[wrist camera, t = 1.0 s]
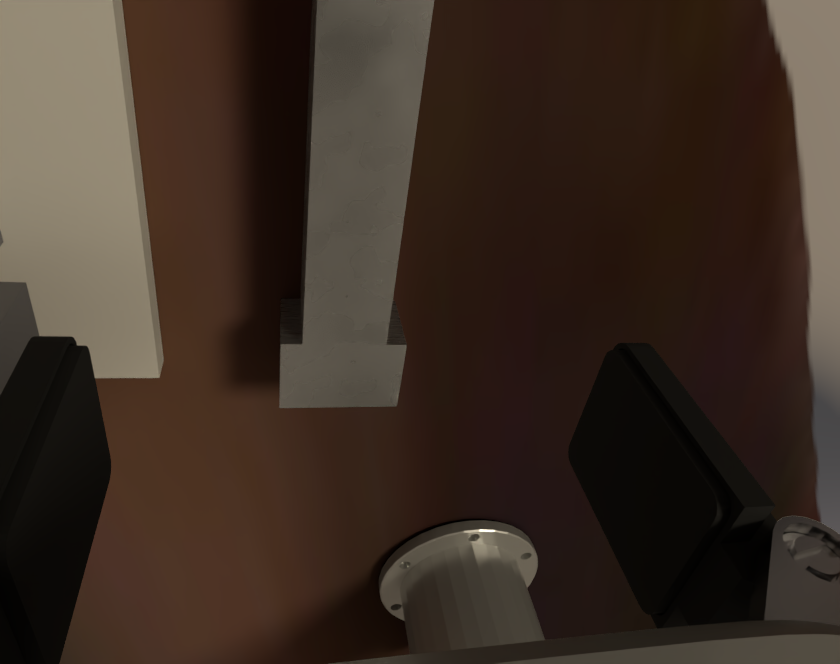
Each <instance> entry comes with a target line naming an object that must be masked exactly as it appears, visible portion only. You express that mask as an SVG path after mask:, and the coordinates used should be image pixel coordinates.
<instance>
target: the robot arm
mask: <svg viewBox="0 0 840 664" xmlns="http://www.w3.org/2000/svg"><path fill="white" fill-rule="evenodd" d="M568 453H569V460H570V463H571V465H572V468H573V470H574V472H575V474H576V476H577V478H578V480H579V482H580V484H581V486H582V488H583V490H584V492H585V494H586V496H587V498H588V500H589V502H590V505H591V507H592V509H593V511H594V513H595V515H596V517H597V519H598V521H599V523H600V525H601V527H602V529H603V531H604V533H605V535H606V537H607V539H608V541H609V544H610V546H611V548H612V550H613V552H614V554H615V556H616V558H617V560H618V562H619V564H620V566H621V568H622V570H623V572H624V574H625V576H626V578H627V580H628V583H629V585H630V587H631V589H632V591H633V593H634V595H635V597H636V599H637V601H638V603H639V605H640V607H641V608H642V610H643V611H644V612H645V613H646V614H650V615H651V617H652V619H653V621H654V623H655V625H656V627H657V629H650V630H640V631H630V632H620V633H611V634H601V635H591V636H581V637H571V638H561V639H552V640H545V639H544V636H543V633H542V630H541V627H540V624H539V621H538V618H537V615H536V612H535V610H534V607H533V604H532V601H531V598H530V595H529V592H528V589H527V587H528V586H529V585H530V584H531V582H532V580H533V578H534V576H535V575H536V571H537V567H538V557H537V554H536V552H535V549H534V546H533V544H532V542H531V540H530V539H529V537H528V536H527V535H526V534H524V533H523V532H522V531H521V530H519V529H517V528H515V527H513V526H511V525H508V524H504V523H501V522H496V521H487V520H471V521H462V522H456V523H451V524H447V525H443V526H440V527H436V528H434V529H431V530H429V531H426V532H424V533H422V534H420V535H418V536H416V537H414V538H413V539H411V540H409V541H408V542H406V543H405V544H404V545H402V546H401V547H400V548H398V549H397V550H396V551H395V552H394V553H393V554H392V555H391V556H390V557H389V558H388V560H387V561H386V563H385V565H384V566H383V568H382V570H381V573H380V576H379V591H380V597H381V601H382V603H383V605H384V607H385V608H386V609H387V610H388V611H389V612H390V613H391V614H392V615H394V616H396V617H397V618H399V619H401V620H404V621H405V626H406V632H407V638H408V644H409V650H410V655H402V656H393V657H384V658H374V659H366V660H357V661H348V662H339V663H330V664H840V535H839V534H838V533H837V532H836V531H834V530H833V529H831V528H829V527H827V526H826V525H824V524H822V523H820V522H817V521H815V520H812V519H809V518H806V517H799V516H788V517H783V518H782V519H780V520H779V521H776V520H775V518H774V517H773V516H772V514H771V511H772V510H773V509H774V507H775V504H774V503H773V502H772V501H771V499H770V498H769V497H768V495H767V494H766V493H765V491H764V490H763V489H762V488H761V486H760V485H759V484H758V482H757V481H756V480H755V479H754V477H753V476H752V475H751V473H750V472H749V471H748V470H747V468H746V467H745V466H744V464H743V463H742V462H741V460H740V459H739V458H738V457H737V455H736V454H735V453H734V451H733V450H732V449H731V448H730V446H729V445H728V444H727V442H726V441H725V440H724V439H723V437H722V436H721V435H720V433H719V432H718V431H717V429H716V428H715V427H714V426H713V424H712V423H711V422H710V420H709V419H708V418H707V417H706V415H705V414H704V413H703V411H702V410H701V409H700V408H699V406H698V405H697V404H696V402H695V401H694V400H693V398H692V397H691V396H690V395H689V393H688V392H687V391H686V389H685V388H684V387H683V386H682V384H681V383H680V382H679V380H678V379H677V378H676V377H675V375H674V374H673V373H672V371H671V370H670V369H669V367H668V366H667V365H666V364H665V362H664V361H663V360H662V358H661V357H660V356H659V355H658V353H657V352H656V351H655V349H654V348H653V347H652V346H651V345H650V344H647V343H619V344H617V345H616V346H615V348H614V349H613V350H610V351H609V352H608V353H607V354H606V356H605V358H604V361H603V363H602V366H601V368H600V370H599V373H598V375H597V378H596V380H595V383H594V385H593V388H592V390H591V393H590V395H589V398H588V400H587V403H586V405H585V408H584V410H583V413H582V415H581V418H580V420H579V422H578V425H577V427H576V430H575V432H574V435H573V437H572V440H571V442H570V445H569V451H568ZM110 474H111V459H110V453H109V448H108V443H107V438H106V433H105V427H104V422H103V417H102V412H101V407H100V402H99V397H98V392H97V387H96V382H95V376H94V371H93V366H92V361H91V356H90V352H89V348H88V347H87V346H78V345H77V343H76V341H75V339H74V338H73V337H69V336H34V337H31V339H30V340H29V341H28V343H27V345H26V347H25V349H24V351H23V353H22V355H21V357H20V359H19V361H18V362H17V364H16V366H15V368H14V370H13V372H12V374H11V376H10V378H9V380H8V382H7V383H6V385H5V387H4V389H3V391H2V393H1V395H0V664H59V662H60V659H61V655H62V651H63V648H64V644H65V641H66V637H67V633H68V630H69V626H70V622H71V619H72V615H73V611H74V608H75V604H76V600H77V597H78V593H79V590H80V586H81V582H82V579H83V575H84V571H85V568H86V564H87V560H88V557H89V553H90V549H91V546H92V542H93V539H94V535H95V531H96V528H97V524H98V520H99V517H100V513H101V509H102V506H103V502H104V498H105V495H106V491H107V488H108V484H109V480H110ZM688 625H689V626H688Z"/></svg>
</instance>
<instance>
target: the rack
mask: <svg viewBox="0 0 840 664" xmlns="http://www.w3.org/2000/svg"><path fill="white" fill-rule="evenodd" d="M34 336H69V337H73V338H74V339H75V341H76V343H77V345H78V346H87V347H88V348H89V352H90V356H91V361H92V366H93V371H94V376H95V378H159V377H160V373H161V369H162V365H163V360H164V358H163V350H162V341H161V333H160V324H159V315H158V307H157V298H156V290H155V281H154V272H153V264H152V255H151V247H150V238H149V230H148V221H147V212H146V204H145V195H144V187H143V178H142V170H141V161H140V152H139V144H138V135H137V127H136V118H135V110H134V101H133V92H132V84H131V75H130V67H129V58H128V50H127V41H126V32H125V24H124V15H123V7H122V0H0V395H1V393H2V391H3V389H4V387H5V385H6V383H7V382H8V380H9V378H10V376H11V374H12V372H13V370H14V368H15V366H16V364H17V362H18V361H19V359H20V357H21V355H22V353H23V351H24V349H25V347H26V345H27V343H28V341H29V340H30V339H31V337H34Z"/></svg>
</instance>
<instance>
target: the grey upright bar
mask: <svg viewBox="0 0 840 664" xmlns="http://www.w3.org/2000/svg"><path fill="white" fill-rule="evenodd" d="M433 5H434V0H312V10H311V36H310V62H309V88H308V114H307V140H306V166H305V192H304V218H303V244H302V270H301V296H300V299H290V298H281V309H280V404H279V408H312V407H378V406H397V402H398V396H399V390H400V384H401V377H402V371H403V365H404V359H405V353H406V346H407V344H406V341H405V337H404V333H403V329H402V326H401V322H400V318H399V314H398V310H397V307H396V303H395V301H393V294H394V287H395V280H396V272H397V265H398V258H399V251H400V243H401V236H402V229H403V222H404V214H405V207H406V200H407V193H408V186H409V178H410V171H411V164H412V157H413V149H414V142H415V135H416V128H417V120H418V113H419V106H420V99H421V91H422V84H423V77H424V70H425V62H426V55H427V48H428V41H429V34H430V26H431V19H432V12H433Z"/></svg>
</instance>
